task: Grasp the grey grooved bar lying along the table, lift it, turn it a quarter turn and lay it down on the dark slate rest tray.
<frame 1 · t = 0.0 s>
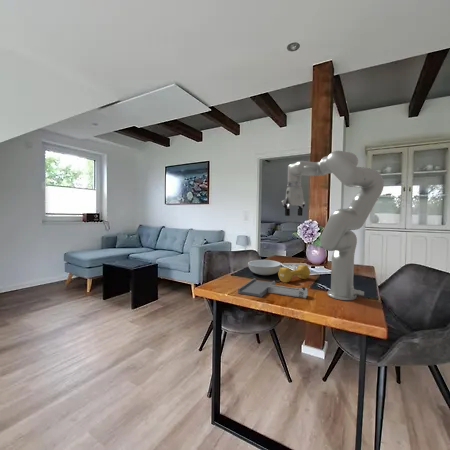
hand: (293, 215, 147), 37 cm above the table, tool pointing down, fingers open, 9 cm apart
serving bowl: (264, 273, 163), on the table
rest tray: (257, 288, 131), on the table
grey grooved bar: (286, 293, 124), on the table
dumbbell: (294, 280, 149), on the table
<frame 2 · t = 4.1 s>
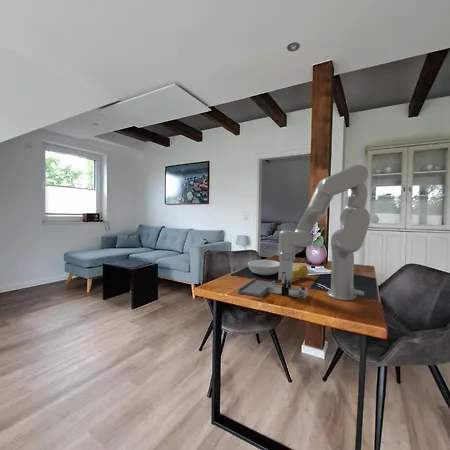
hand: (286, 293, 124), 0 cm above the table, tool pointing down, fingers closed on grey grooved bar, 4 cm apart
grey grooved bar: (286, 293, 124), on the table, touching gripper
when the fingers open (3 cm above the table, at t = 9.4 s): grey grooved bar drops 1 cm, resting on rest tray.
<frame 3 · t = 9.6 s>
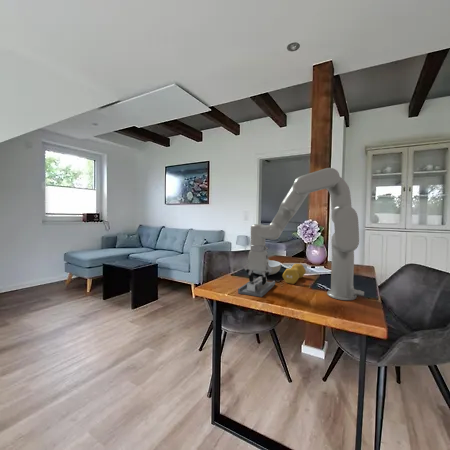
hand: (257, 283, 131), 3 cm above the table, tool pointing down, fingers open, 6 cm apart
grey grooved bar: (257, 286, 131), point 1 cm above the table, touching rest tray
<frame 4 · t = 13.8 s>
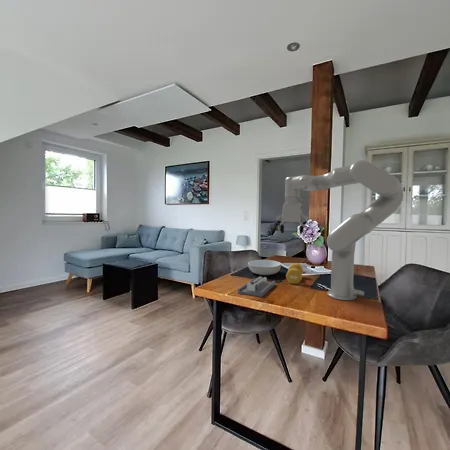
hand: (291, 233, 135), 28 cm above the table, tool pointing down, fingers open, 9 cm apart
at the end: grey grooved bar inside the target area on the rest tray (0.1 cm from its centre), point 1.2 cm above the rest tray's base; grey grooved bar tilted 0°; the gripper is holding nothing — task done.
